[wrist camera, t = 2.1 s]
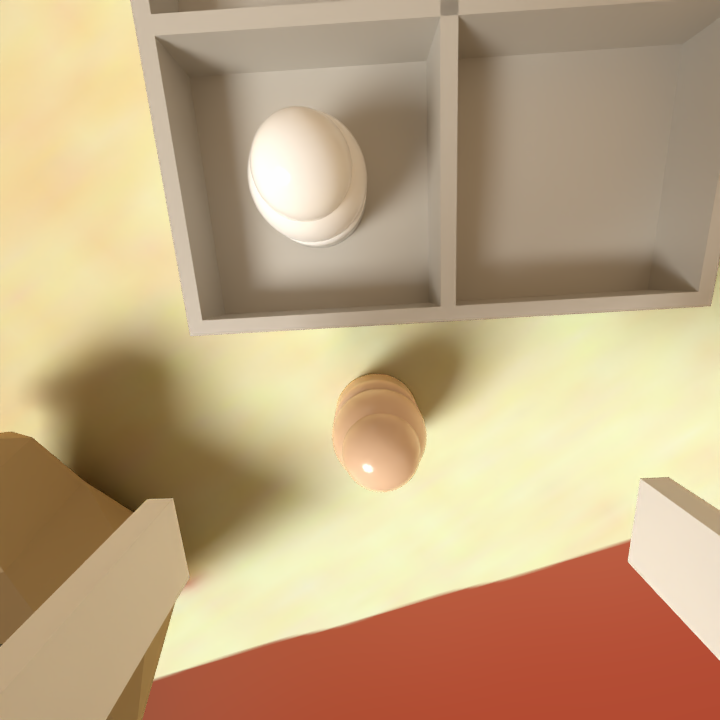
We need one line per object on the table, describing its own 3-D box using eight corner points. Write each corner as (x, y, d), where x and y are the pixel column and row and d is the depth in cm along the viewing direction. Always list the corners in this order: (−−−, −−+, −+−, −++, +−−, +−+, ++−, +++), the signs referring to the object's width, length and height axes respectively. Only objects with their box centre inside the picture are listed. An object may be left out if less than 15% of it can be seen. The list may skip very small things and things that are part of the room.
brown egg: (339, 450, 18) (330, 524, 13) (333, 375, 17) (321, 421, 12) (416, 445, 18) (441, 518, 13) (415, 371, 17) (441, 415, 12)
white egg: (275, 251, 15) (228, 236, 10) (264, 147, 14) (203, 64, 9) (368, 245, 15) (373, 227, 10) (363, 140, 14) (365, 54, 9)
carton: (219, 325, 17) (190, 336, 14) (125, -275, 12) (48, -457, 9) (648, 300, 16) (710, 306, 14) (737, -324, 12) (865, -528, 9)
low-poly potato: (207, 623, 22) (267, 592, 14) (-33, 901, 13) (-178, 1160, 6) (65, 451, 23) (55, 346, 16) (-230, 599, 15) (-527, 515, 8)
